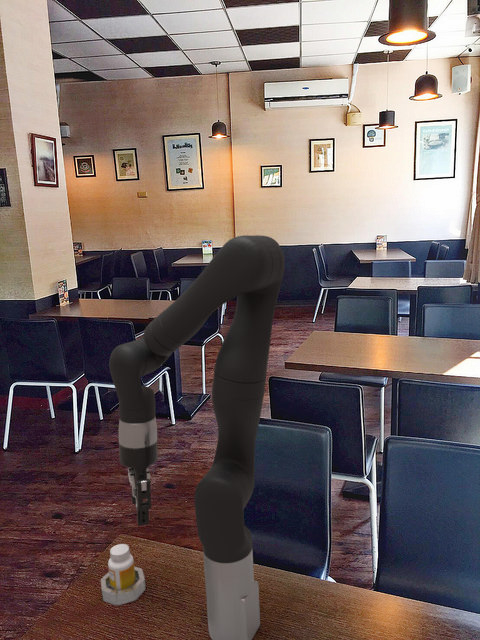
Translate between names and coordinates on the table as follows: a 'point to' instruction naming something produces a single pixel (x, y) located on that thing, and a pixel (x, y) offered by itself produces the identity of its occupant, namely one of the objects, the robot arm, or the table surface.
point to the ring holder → (126, 594)
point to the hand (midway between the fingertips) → (140, 513)
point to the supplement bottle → (121, 568)
